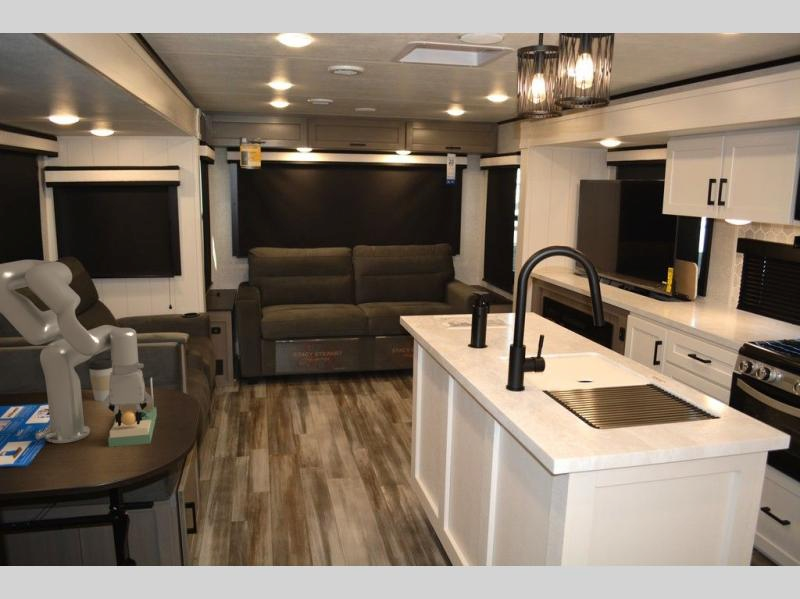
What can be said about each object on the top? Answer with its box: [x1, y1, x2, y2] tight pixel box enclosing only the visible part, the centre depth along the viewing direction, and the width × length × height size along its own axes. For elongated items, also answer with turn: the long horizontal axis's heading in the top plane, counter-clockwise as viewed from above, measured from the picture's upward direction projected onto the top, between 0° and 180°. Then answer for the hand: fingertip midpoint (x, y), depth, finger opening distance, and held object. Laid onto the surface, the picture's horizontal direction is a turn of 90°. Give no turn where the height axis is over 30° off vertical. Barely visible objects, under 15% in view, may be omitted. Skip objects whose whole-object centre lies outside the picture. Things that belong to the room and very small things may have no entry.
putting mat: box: [107, 376, 158, 448], centre depth 211 cm, size 25×12×14 cm, turn 16°
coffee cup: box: [88, 357, 112, 402], centre depth 238 cm, size 9×9×15 cm
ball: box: [120, 409, 137, 426], centre depth 201 cm, size 5×5×5 cm
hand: (129, 423), depth 201 cm, fingers closed on ball, 4 cm apart
